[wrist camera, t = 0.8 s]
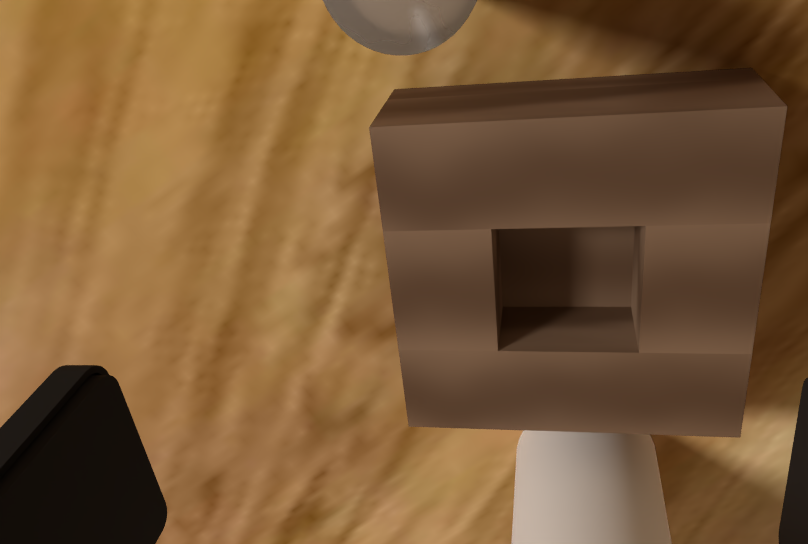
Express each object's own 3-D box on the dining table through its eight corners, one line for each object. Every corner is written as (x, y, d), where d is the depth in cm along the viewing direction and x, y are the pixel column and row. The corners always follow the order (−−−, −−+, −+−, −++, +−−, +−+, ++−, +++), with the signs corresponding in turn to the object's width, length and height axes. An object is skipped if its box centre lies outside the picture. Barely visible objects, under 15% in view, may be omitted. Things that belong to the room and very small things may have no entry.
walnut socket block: (394, 89, 31) (369, 127, 27) (751, 67, 28) (787, 106, 24) (425, 361, 38) (408, 426, 34) (717, 365, 35) (740, 437, 31)
